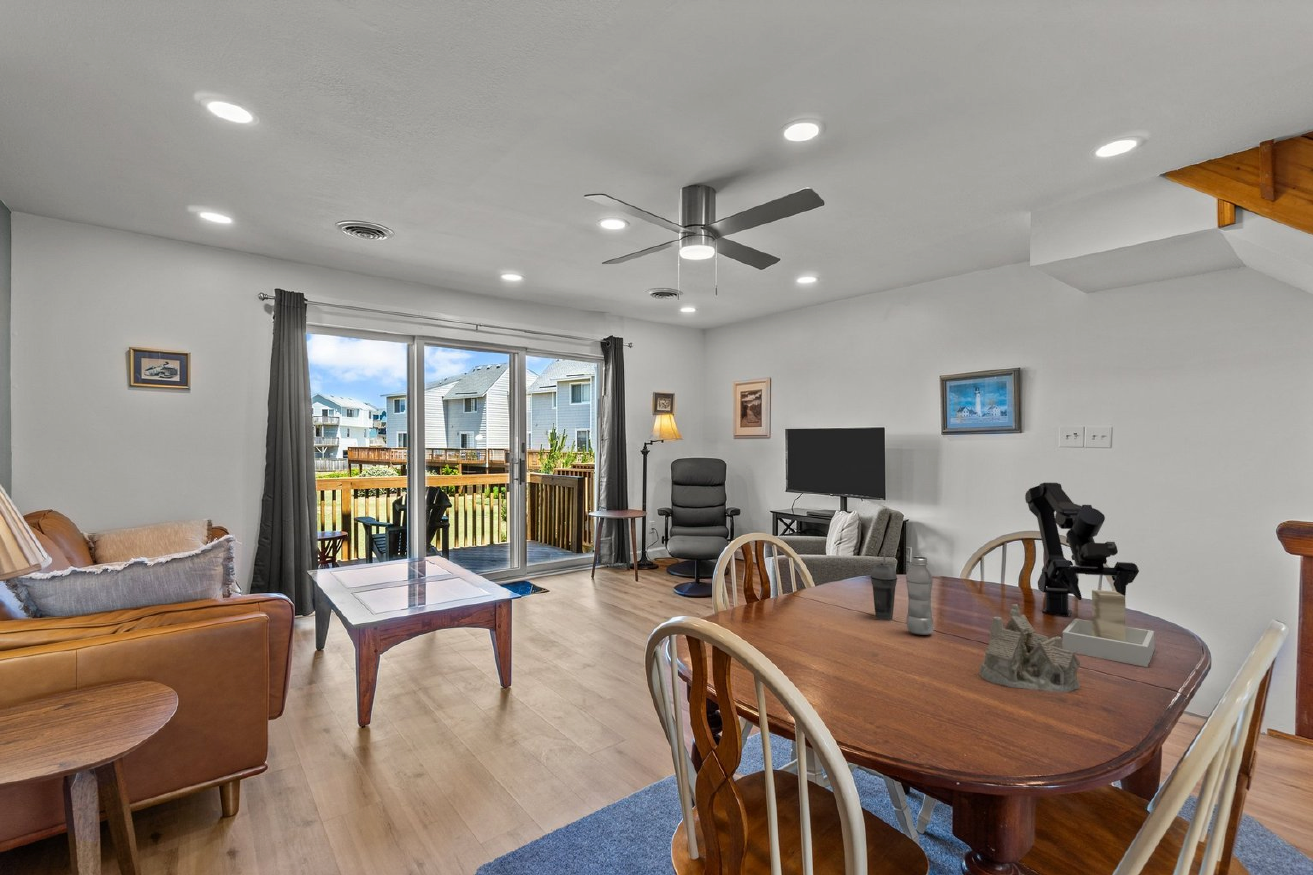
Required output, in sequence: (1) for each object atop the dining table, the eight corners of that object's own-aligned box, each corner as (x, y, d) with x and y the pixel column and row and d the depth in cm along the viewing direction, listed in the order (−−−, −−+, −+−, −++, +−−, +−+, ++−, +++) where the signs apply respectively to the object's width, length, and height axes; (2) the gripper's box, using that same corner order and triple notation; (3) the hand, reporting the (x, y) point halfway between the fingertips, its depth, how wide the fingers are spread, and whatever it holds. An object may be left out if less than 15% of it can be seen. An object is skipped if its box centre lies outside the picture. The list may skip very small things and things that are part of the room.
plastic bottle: (938, 637, 157) (937, 560, 158) (911, 637, 158) (911, 559, 158) (927, 630, 164) (927, 555, 164) (902, 630, 164) (901, 555, 164)
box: (1075, 635, 159) (1075, 618, 159) (1154, 649, 148) (1154, 631, 148) (1062, 650, 147) (1062, 632, 147) (1147, 667, 136) (1147, 646, 136)
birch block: (1092, 642, 151) (1091, 589, 151) (1116, 644, 149) (1115, 591, 150) (1101, 649, 146) (1100, 594, 146) (1125, 651, 145) (1125, 595, 145)
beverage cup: (893, 614, 179) (893, 546, 179) (901, 622, 171) (900, 550, 172) (867, 614, 179) (867, 546, 180) (874, 621, 172) (873, 550, 172)
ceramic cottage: (967, 671, 134) (972, 603, 133) (1019, 664, 140) (1025, 599, 139) (1034, 704, 119) (1040, 628, 119) (1090, 694, 125) (1096, 622, 125)
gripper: (1051, 528, 159) (1067, 580, 148) (1135, 530, 154) (1158, 585, 143) (1040, 553, 166) (1055, 604, 156) (1120, 556, 161) (1141, 609, 151)
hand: (1101, 600), depth 151 cm, fingers open, 9 cm apart
